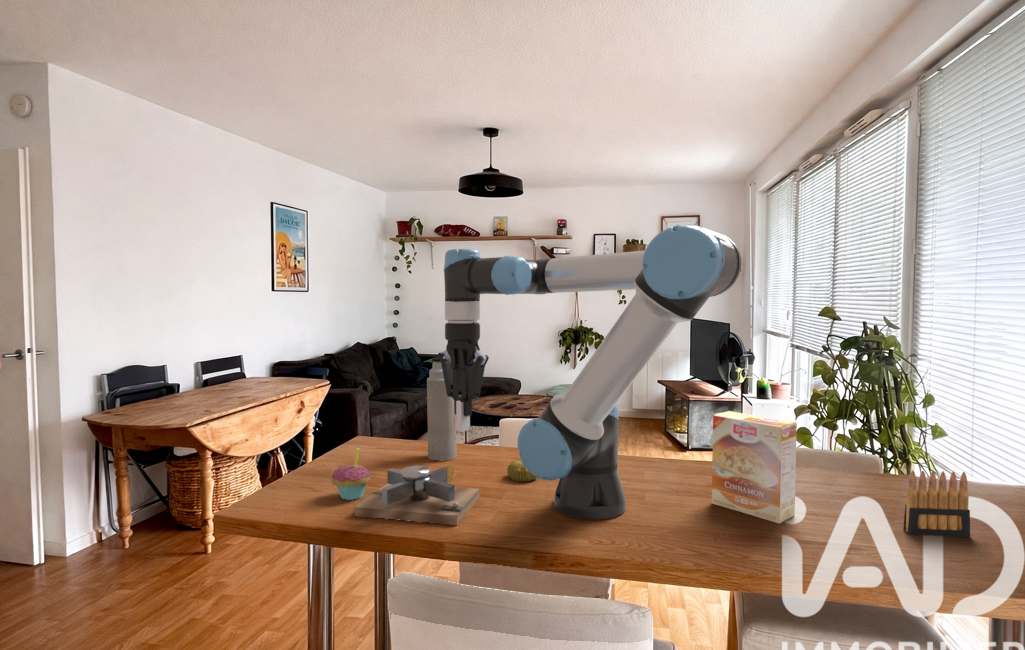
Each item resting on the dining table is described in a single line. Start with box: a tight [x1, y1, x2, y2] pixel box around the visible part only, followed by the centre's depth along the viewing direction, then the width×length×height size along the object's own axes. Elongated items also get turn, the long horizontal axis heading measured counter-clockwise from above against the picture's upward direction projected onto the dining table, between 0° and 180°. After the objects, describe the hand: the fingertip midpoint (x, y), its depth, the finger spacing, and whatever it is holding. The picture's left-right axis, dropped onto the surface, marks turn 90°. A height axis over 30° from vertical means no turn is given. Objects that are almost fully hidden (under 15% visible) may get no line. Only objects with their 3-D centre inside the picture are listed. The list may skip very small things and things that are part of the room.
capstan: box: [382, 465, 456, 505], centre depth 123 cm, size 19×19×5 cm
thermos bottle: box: [426, 356, 458, 461], centre depth 161 cm, size 8×8×28 cm
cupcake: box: [330, 444, 372, 501], centre depth 130 cm, size 9×8×12 cm
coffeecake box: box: [711, 410, 798, 525], centre depth 121 cm, size 15×7×20 cm, turn 40°
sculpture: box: [506, 459, 537, 482], centre depth 143 cm, size 8×4×8 cm
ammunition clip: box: [902, 469, 971, 538], centre depth 108 cm, size 11×2×12 cm, turn 83°
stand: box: [354, 482, 481, 526], centre depth 124 cm, size 22×16×4 cm
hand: (463, 430), depth 125 cm, fingers closed
